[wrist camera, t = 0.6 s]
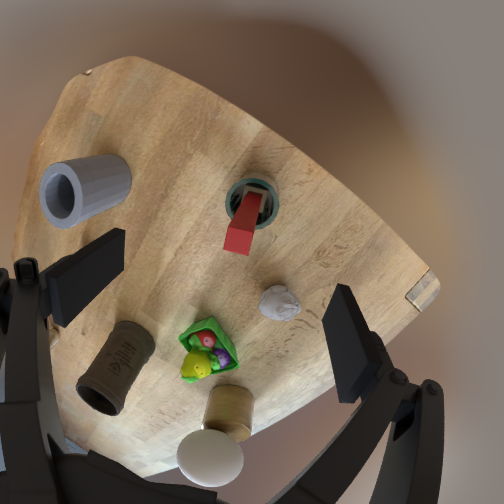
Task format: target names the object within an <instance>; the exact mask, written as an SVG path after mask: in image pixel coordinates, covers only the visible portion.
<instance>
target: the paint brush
mask: <svg viewBox="0 0 504 504" xmlns="http://www.w3.org/2000/svg"><path fill="white" fill-rule="evenodd" d="M267 194H268V189H267V188H266V187H264V186H263V185H261V184H258V183H253V182H252V183H247V184H246V185H245V188H244V192H243V197H242V201H241V205H240V206H239V208H238V210H237V212H236V213H235V215H234V217H233V219H232V220H231V222H230V224H229V226H228V229H227V233H226V238H225V243H224V248H223V250H226V251H230V252H234V253H238V254H242V255H246V256H248V254H249V250H250V246H251V242H252V238H253V234H254V230H255V226H256V222H257V217H258V213H259V212H261V213H263V210H264V206H265V202H266V198H267Z"/></svg>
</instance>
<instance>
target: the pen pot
mask: <svg viewBox="0 0 504 504" xmlns="http://www.w3.org/2000/svg"><path fill="white" fill-rule="evenodd" d="M252 182H253V183H258V184H261V185H263V186H264V187H266V188H267V189H268V194H267V198H266V202H265V206H264V210H263V213H261V212H259V213H258V217H257V222H256V226H255V230H257V229H262V228H264V227H266V226H268V225H269V224H271V222H272V221H273V220H274V219H275V217H276V216H277V213H278V209H279V196H278V189H277V185H276V183H275V181H274V180H273V179H272V178H271V177H270V176H269V175H267V174H265V173H262V172H250V173H247V174H246V175H244V176H242V177H241V178H240V179H239V180H238V181H237V182H236V183H235V184H234V185H233V186H232V187H231V188H230V190H229V191H228V193H227V196H226V201H225V206H226V211H227V214H228V216H229V217H230V219H231V220H232V219H233V217H234V215H235V213H236V212H237V210H238V208H239V206H240V205H241V201H242V197H243V192H244V188H245V185H246V184H247V183H252Z"/></svg>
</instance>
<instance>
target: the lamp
mask: <svg viewBox="0 0 504 504" xmlns="http://www.w3.org/2000/svg"><path fill="white" fill-rule="evenodd" d="M253 410H254V397H253V395H252V394H251V393H250V392H249V391H248V390H246V389H244V388H242V387H239V386H235V385H220V386H217V387H215V388H213V389H212V390H211V392H210V394H209V398H208V402H207V406H206V410H205V414H204V418H203V422H202V429H201V430H198V431H195V432H192V433H190V434H189V435H187V436H186V437H185V438H184V439H183V440H182V441H181V443H180V445H179V447H178V450H177V462H178V465H179V468H180V470H181V471H182V473H183V474H184V475H185V476H186V477H187V478H188V479H190V480H191V481H193V482H195V483H197V484H199V485H202V486H208V487H216V486H222V485H225V484H227V483H229V482H231V481H232V480H234V479H235V478H236V477H237V476H238V475H239V473H240V471H241V469H242V467H243V460H244V459H243V453H242V450H241V448H240V446H239V444H238V443H237V442H239V441H243V440H246V439H248V438H249V437H250V435H251V429H252V419H253Z"/></svg>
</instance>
